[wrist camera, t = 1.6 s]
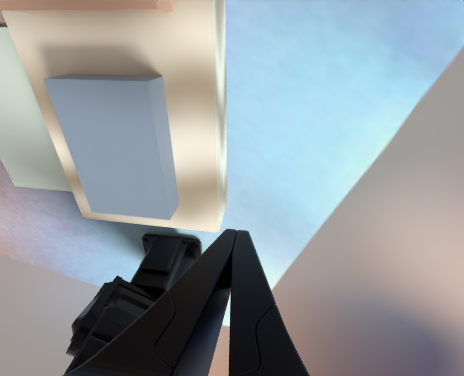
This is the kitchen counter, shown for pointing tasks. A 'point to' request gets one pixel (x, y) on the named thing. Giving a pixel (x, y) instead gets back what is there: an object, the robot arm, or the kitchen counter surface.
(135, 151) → the grey-blue rectangular block
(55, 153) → the mat
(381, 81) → the kitchen counter surface
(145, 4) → the terracotta tile
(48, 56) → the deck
